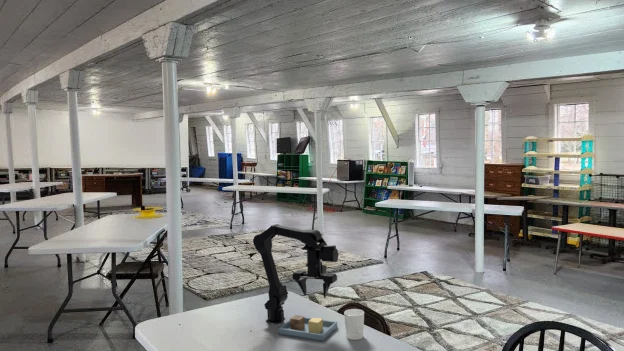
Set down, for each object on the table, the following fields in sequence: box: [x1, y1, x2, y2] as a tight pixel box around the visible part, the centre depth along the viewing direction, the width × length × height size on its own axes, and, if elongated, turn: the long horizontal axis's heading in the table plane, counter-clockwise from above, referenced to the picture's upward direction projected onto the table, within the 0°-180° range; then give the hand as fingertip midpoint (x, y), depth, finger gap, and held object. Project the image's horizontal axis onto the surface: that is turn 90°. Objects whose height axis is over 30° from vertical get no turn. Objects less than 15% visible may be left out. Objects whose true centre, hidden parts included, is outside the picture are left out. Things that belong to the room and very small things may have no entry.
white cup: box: [343, 308, 365, 341], centre depth 187 cm, size 8×8×10 cm
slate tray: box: [277, 316, 338, 343], centre depth 194 cm, size 20×15×2 cm
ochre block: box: [308, 317, 324, 334], centre depth 193 cm, size 4×4×4 cm
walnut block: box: [289, 314, 305, 331], centre depth 196 cm, size 4×4×4 cm
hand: (315, 296), depth 198 cm, fingers open, 9 cm apart
